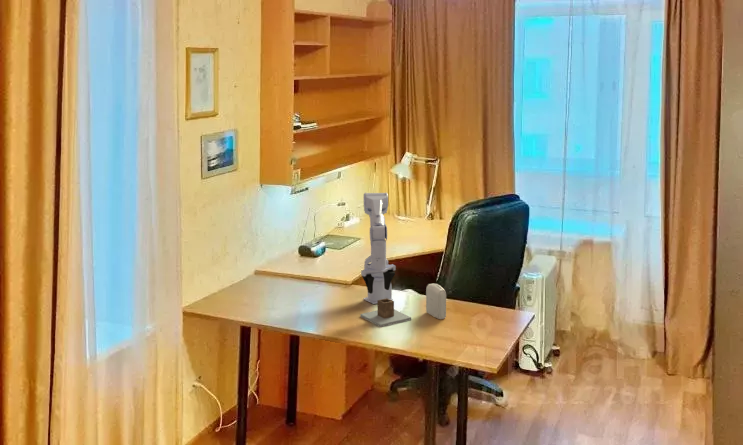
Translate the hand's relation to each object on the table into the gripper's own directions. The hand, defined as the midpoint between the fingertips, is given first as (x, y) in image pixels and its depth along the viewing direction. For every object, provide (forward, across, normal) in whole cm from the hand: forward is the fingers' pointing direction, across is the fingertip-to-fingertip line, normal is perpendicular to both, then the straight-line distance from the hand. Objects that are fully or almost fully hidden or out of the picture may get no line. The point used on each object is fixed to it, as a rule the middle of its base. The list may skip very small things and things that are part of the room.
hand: (378, 291), depth 321 cm
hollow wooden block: (+9, +1, -3) cm, 10 cm away
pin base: (+10, +1, -3) cm, 11 cm away
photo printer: (+11, +19, -11) cm, 25 cm away
